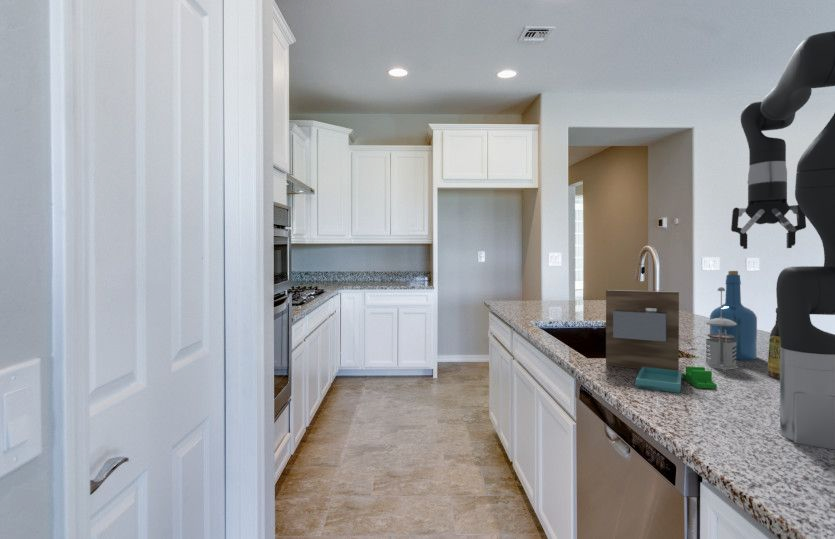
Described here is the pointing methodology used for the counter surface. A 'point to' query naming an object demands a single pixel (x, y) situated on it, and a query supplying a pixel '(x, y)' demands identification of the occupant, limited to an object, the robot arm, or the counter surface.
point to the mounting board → (643, 351)
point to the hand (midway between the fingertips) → (766, 248)
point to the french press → (721, 344)
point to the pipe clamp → (699, 377)
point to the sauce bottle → (774, 351)
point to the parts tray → (659, 379)
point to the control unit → (640, 324)
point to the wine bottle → (737, 320)
